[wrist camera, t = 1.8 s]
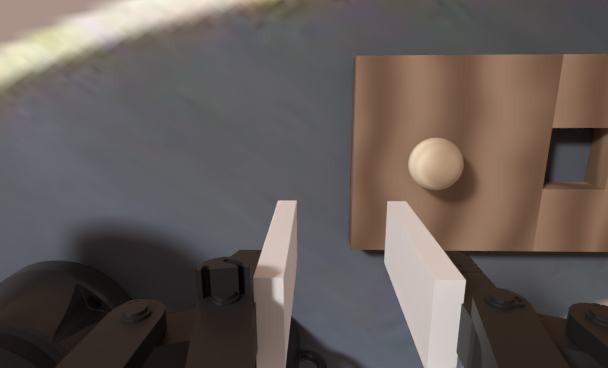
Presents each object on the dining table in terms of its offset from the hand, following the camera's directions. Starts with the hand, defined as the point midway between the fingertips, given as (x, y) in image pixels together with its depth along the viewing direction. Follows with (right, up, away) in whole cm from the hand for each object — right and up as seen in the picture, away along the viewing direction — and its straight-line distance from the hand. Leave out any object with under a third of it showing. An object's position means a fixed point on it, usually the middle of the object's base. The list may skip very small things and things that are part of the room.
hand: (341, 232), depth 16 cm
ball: (+8, +4, +13) cm, 16 cm away
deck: (+15, +5, +18) cm, 23 cm away
